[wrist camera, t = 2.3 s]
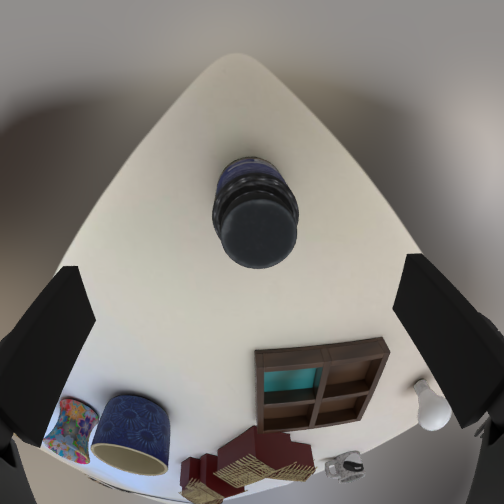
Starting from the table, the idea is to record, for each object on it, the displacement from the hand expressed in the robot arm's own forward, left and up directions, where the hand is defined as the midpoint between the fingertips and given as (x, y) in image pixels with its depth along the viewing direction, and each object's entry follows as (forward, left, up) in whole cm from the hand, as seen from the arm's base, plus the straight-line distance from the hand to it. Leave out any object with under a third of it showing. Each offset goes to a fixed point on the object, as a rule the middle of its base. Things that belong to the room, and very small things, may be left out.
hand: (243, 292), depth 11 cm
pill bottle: (-1, +1, -18) cm, 18 cm away
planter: (+19, +37, -18) cm, 45 cm away
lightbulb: (-31, +36, -18) cm, 51 cm away
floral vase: (+34, +41, -18) cm, 56 cm away
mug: (-22, +65, -18) cm, 71 cm away
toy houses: (+6, +65, -18) cm, 68 cm away
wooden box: (-10, +31, -18) cm, 37 cm away
